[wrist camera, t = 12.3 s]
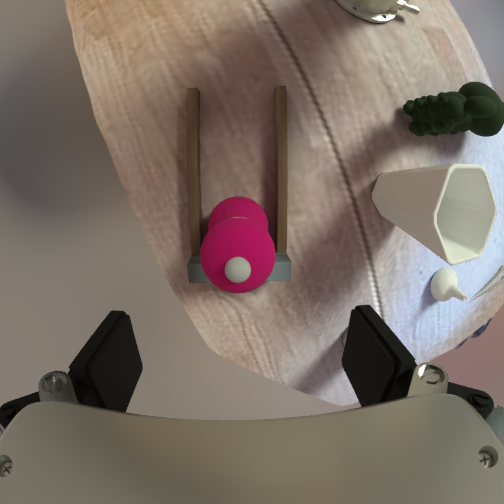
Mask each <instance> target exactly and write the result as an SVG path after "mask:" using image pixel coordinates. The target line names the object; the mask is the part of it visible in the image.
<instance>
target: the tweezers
mask: <svg viewBox="0 0 504 504" xmlns="http://www.w3.org/2000/svg"><path fill="white" fill-rule="evenodd" d="M503 269H504V265H503V266H502V267H501V268H500V269H499V270H498V272H497V273H496V274H495V275H494V276H493V277H492V278H491V279H490V280H489V281H488V283H487V284H486V285H485V286H484V287H483V288H482V289H481V290H480V291H479V292H478V293H480V292H481V291H482V290H483V289H485V288H486V287H487V286H488V285H489V284H490V283H491V282H492V281H493V280H494V279H495V278H496V277H497V276H498V275H499V274H500V273H501V272H502V270H503ZM499 271H500V272H499ZM495 276H496V277H495ZM503 279H504V276H503V277H502V278H501V280H500V281H498V282H497V283H495V284H494V285H492V286H491V287H490V288H488V289H487V290H486V291H484V292H483V293H481V294H480V295H478V296H477V297H475V298H474V299H476V298H478V297H480V296H481V295H483V294H485V293H487V292H489V291H491V290H492V289H494V288H496V287H497V286H499V285H500V284H501V283H503ZM498 283H499V284H498ZM478 293H476V294H475V295H474V296H476V295H477V294H478ZM474 296H473V297H474ZM473 297H472V298H473ZM472 298H471V299H472ZM474 299H472V300H474ZM472 300H471V301H472ZM471 301H470V302H471Z"/></svg>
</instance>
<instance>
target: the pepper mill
mask: <svg viewBox="0 0 504 504" xmlns="http://www.w3.org/2000/svg"><path fill="white" fill-rule="evenodd" d="M275 258H276V255H275V246H274V242H273V240H272V238H271V236H270V235H269V233H268V220H267V216H266V214H265V212H264V210H263V209H262V208H261V206H260V205H259V204H257V203H256V202H255V201H253V200H251V199H248V198H245V197H232V198H228V199H226V200H224V201H222V202H220V203H219V204H218V205H217V206H216V207H215V208H214V210H213V211H212V213H211V215H210V218H209V223H208V233H207V234H206V236H205V238H204V240H203V243H202V246H201V251H200V260H201V265H202V268H203V271H204V273H205V274H206V276H207V278H208V279H209V280H210V281H211V282H212V283H213V284H214V285H216V286H217V287H218V288H220V289H222V290H225V291H228V292H231V293H245V292H249V291H252V290H254V289H256V288H258V287H259V286H260V285H262V284H263V283H264V282H265V281H266V280H267V279H268V277H269V276H270V274H271V273H272V271H273V268H274V264H275Z"/></svg>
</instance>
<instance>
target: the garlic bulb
mask: <svg viewBox="0 0 504 504" xmlns="http://www.w3.org/2000/svg"><path fill="white" fill-rule="evenodd" d="M430 290H431V294H432V296H433V297H434V298H435V299H437V300H439V301H447V300H449V299H450V298H452V297H455V298H458V299H460V300H463V301H465V300H466V299H467V296H466V295H465V294H464V293H463V292H462V291H461V290H460V289H459V288H458V278H457V275H456V273H455V272H454V271H453V270H452V269H450V268H441V269H440V270H438V271H437V272H436V273H435V275H434V276H433V278H432V280H431V284H430Z"/></svg>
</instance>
